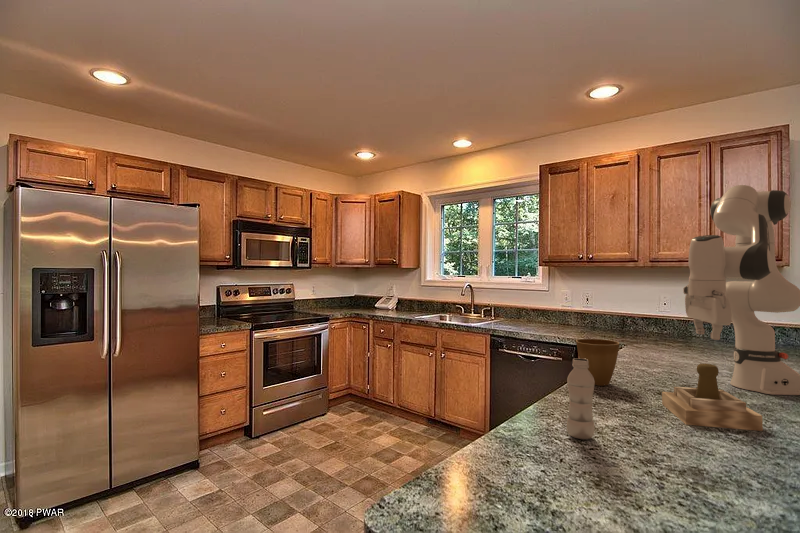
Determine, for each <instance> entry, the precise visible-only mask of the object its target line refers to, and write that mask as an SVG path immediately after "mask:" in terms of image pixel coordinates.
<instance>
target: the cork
mask: <svg viewBox="0 0 800 533" xmlns="http://www.w3.org/2000/svg"><path fill="white" fill-rule="evenodd" d="M696 372H697V374H698V380H697V387H696V388H697V392H696V398H702V399H716V400H720V396H719V390H720V389H719V385H718V379H717V376H719V372H720V370H719V368H718V366H716V365H714V364H710V363H699V364H697V365H696Z"/></svg>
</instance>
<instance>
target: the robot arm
mask: <svg viewBox="0 0 800 533" xmlns="http://www.w3.org/2000/svg"><path fill="white" fill-rule="evenodd" d="M791 204H792V202H791V199H790V197H789V195H788V193H787V192H785V191H783V190H775V189H774V190H773V189H771V190H769V191H768V190H767V191H764V190H763V191H757V190H756V189H755V187H753V186H750V185H746V184H738V185H734V186H732V187H730V188H729V189H728V190H726V191H725V192H724V194H723V195H722V196H721V197H718V198H716V199H714V200H713V201H712V202H711V205H710V210H709V212H710V217H711V219H712V222H713V223H714V225H715V227H716V228H717V229H718V230H720V231H721V232H723V233H725V234H727V235H731V236H735V242H734V243H735V246H725V245H724V244H725V243H724V239H723V237H722V236H721V235H718V234H707V235H705V234H704V235H699V236H698V235H697V236H695V237H693V238H692V239H690V243H689V249H688V268H689V277H688V283H687V285H685V286H684V287H683V290H682V291H683V292H682V293H683V294H684V295H685V297H684V305H685V306H684V307H685V313H686V316H687V317H688V318H691V319H693V325H694V327H695V333H696V334H697V335H705V328H704V322H705V323H709V324H711V328H712V329H711V332H710V339H711V340H715V341H719V340H721V333H722V331H723V328H724V327H723V326H730V325H731V323H732V324H733V328H734V336H735V337H734V339H735V340H734V341H735V342H734V343H735V346H734V347H733V361H734V366H733V367H734V368H733V373H732V376H731V380H730V382H729V384H730V385H731V386H733V387H736V388H738V389H739V388H740V389H743V390H746V391H753V392H758V393H762V394H766V395H773V396H774V395H778V396H779V395H780V396H782V395H784V396H785V395H786V396H800V373H799V372H797V371H796V370H795V369H793V368H792V367H790V366H788V365H787V364H786V363H785V362H783V361H782V359H783V360H787V359H789V354H787V353H785V352H779V351H777V350H776V332H775V330H774V328H773V327H772V326H771V325H770V324H768V323H766V322H765V321H762V320H760V319H759V318H758V317H757V315H756V314H755V312H763V313H775V314H778V313H791V312H795V311H797V310H798V309H799V308H800V288H799V287H798V286H796V284H794V283H792V282H791V281H789V280H787V278H785V276H783V275H782V273H781V272H780V271H779V268H778V266H777V262H776V249H775V248H776V246H775V243H776V242H775V238H776V236H775V229H774V226H777V224H779V222H780V221H783V220H784V219H785V218H787V216H789V212H790V210H791V206H792V205H791ZM773 225H774V226H773ZM727 279H737V280H732V281H727ZM739 279H741V280H739ZM742 279H743V280H742ZM738 280H739V281H738ZM744 280H747V281H744ZM749 280H750V281H749Z"/></svg>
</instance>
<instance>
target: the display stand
mask: <svg viewBox="0 0 800 533" xmlns="http://www.w3.org/2000/svg"><path fill="white" fill-rule="evenodd" d="M718 390H719V396H720V400H716V399H702V398H696V392H697V387H683V386H673V392H672V391H671V392H670V391H661V393H662V394H661V403H662V406H663V407H665V408H666V409H667V410H668V411H670V413H672V414H673V415H674V416H675V417H677V419H678V420H680V421H681V422H682V423H684V424H685V426H687V425H688V426H697V427H698V426H700V427H710V428H724V429H735V430H746V431H759V432H763V426H764V424H763V415H762V414H760V413H758V412H756V411H754V410H753V409H751V408H749V407H747V403H746V402H745V401H744V400H742V399H740V398H737V396H734V395H732V394H731V393H729V392H727V391H725V390H724V389H718Z"/></svg>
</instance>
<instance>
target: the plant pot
mask: <svg viewBox="0 0 800 533" xmlns="http://www.w3.org/2000/svg"><path fill="white" fill-rule="evenodd" d="M575 343H576V348H577V349H576V350H577V353H578V354H577V355H578V358H580V359H587V360H588V365H589V368H588V371H589V372H590V373H591V375H592V376H593V378H594V381H595V385H594V386H601V387H605V386H609V385H610V382H611V380H612V377H613V374H614V371H615V367H616V364H617V360H618V357H619V348H620V342H618V341H615V340H610V339H609V340H608V339H600V338H580V339H575Z"/></svg>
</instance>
